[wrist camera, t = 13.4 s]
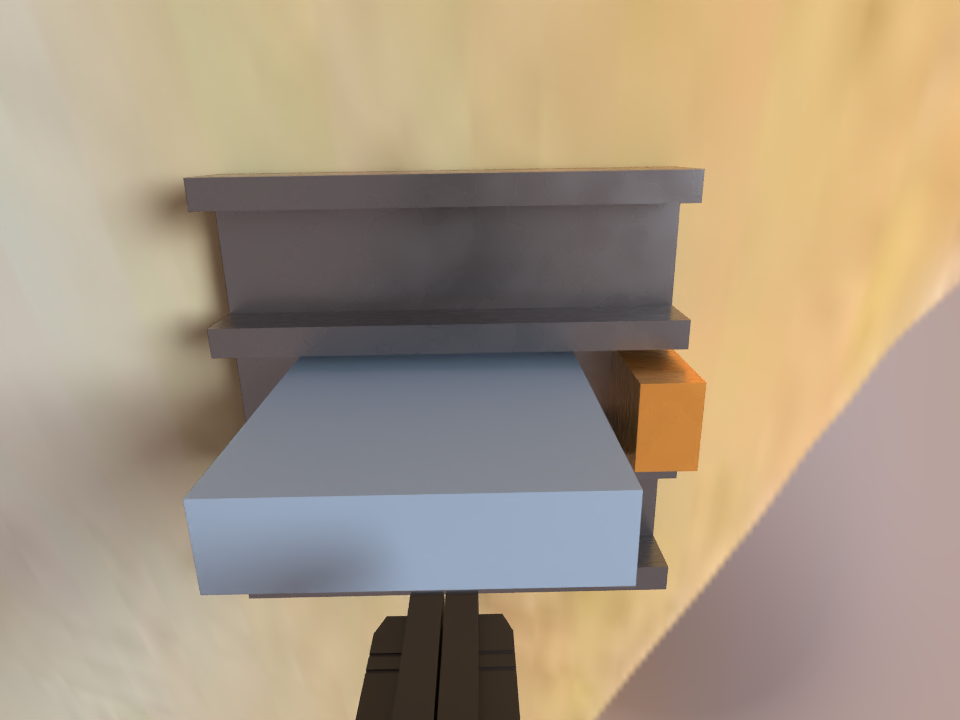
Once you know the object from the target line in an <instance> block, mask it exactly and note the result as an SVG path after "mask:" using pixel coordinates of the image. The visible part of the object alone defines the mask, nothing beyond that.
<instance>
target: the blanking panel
mask: <svg viewBox="0 0 960 720" xmlns="http://www.w3.org/2000/svg"><path fill="white" fill-rule="evenodd" d="M642 495H643V489H642V487H641V485H640V483H639V481H638V479H637V477H636V475H635V473H634V471H633V469H632V467H631V465H630V463H629V462H628V460H627V458H626V456H625V454H624V452H623V450H622V448H621V446H620V444H619V442H618V440H617V438H616V436H615V434H614V432H613V430H612V428H611V426H610V424H609V422H608V420H607V418H606V416H605V414H604V412H603V410H602V408H601V406H600V404H599V402H598V400H597V398H596V396H595V394H594V392H593V390H592V388H591V386H590V384H589V382H588V380H587V378H586V376H585V374H584V372H583V370H582V368H581V366H580V364H579V362H578V360H577V358H576V356H575V354H574V352H573V351H567V352H511V353H459V354H407V355H355V356H302V357H299V358H298V360H297V361H296V362H295V363H294V365H293V366H292V367H291V368H290V369H289V371H288V372H287V373H286V374H285V375H284V377H283V378H282V379H281V380H280V382H279V383H278V384H277V385H276V386H275V388H274V389H273V390H272V391H271V393H270V394H269V395H268V396H267V397H266V399H265V400H264V401H263V402H262V404H261V405H260V406H259V407H258V408H257V410H256V411H255V412H254V413H253V415H252V416H251V417H250V418H249V419H248V421H247V422H246V423H245V424H244V425H243V427H242V428H241V429H240V430H239V432H238V433H237V434H236V435H235V436H234V438H233V439H232V440H231V441H230V443H229V444H228V445H227V446H226V447H225V449H224V450H223V451H222V452H221V454H220V455H219V456H218V457H217V458H216V460H215V461H214V462H213V463H212V465H211V466H210V467H209V468H208V469H207V471H206V472H205V473H204V474H203V475H202V477H201V478H200V479H199V480H198V482H197V483H196V484H195V485H194V486H193V488H192V489H191V490H190V491H189V493H188V494H187V495H186V496H185V497H184V499H183V502H184V507H185V513H186V518H187V524H188V529H189V535H190V540H191V545H192V551H193V556H194V562H195V567H196V573H197V578H198V583H199V589H200V594H201V595H232V594H279V593H326V592H373V591H420V590H467V589H514V588H561V587H608V586H636V575H637V562H638V549H639V535H640V522H641V509H642Z"/></svg>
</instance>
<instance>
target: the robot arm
mask: <svg viewBox="0 0 960 720" xmlns="http://www.w3.org/2000/svg"><path fill="white" fill-rule="evenodd" d="M356 720H520V712H519V700H518V687H517V674H516V662H515V649H514V636H513V630H512V628H511V627H510V625H509V624H508V622H507V620H506V619H505V617H504V616H503V614H479V603H478V590H453V591H446V597H445V599H444V591H413V592H411V595H410V601H409V608H408V615H407V616H387V617H386V618H385V620H384V621H383V622H382V624H381V625H380V626H379V628H378V629H377V630H376V632H375V633H374V635H373V640H372V645H371V649H370V657H369V659H368V664H367V668H366V674H365V678H364V683H363V687H362V692H361V697H360V701H359V706H358V711H357V716H356Z"/></svg>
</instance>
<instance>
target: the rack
mask: <svg viewBox="0 0 960 720" xmlns="http://www.w3.org/2000/svg"><path fill="white" fill-rule="evenodd" d="M704 170H705V169H697V168H686V167H619V168H559V169H500V170H440V171H381V172H322V173H262V174H217V175H207V176H197V177H188V178H183V179H184V185H185V192H186V198H187V204H188V211H189V212H200V211H215V213H216V220H217V227H218V234H219V241H220V248H221V254H222V261H223V268H224V275H225V282H226V289H227V296H228V303H229V310H230V314H228V315H227V316H226V317H224V318H223V319H221V320H220V321H218V322H217V323H215V324H214V325H212V326H211V327H209V328H208V329H207V332H208V338H209V345H210V351H211V357H212V358H236V359H237V366H238V373H239V380H240V387H241V394H242V401H243V407H244V414H245V421H246V422H247V421H248V419H249V418H250V417H251V416H252V415H253V413H254V412H255V411H256V410H257V408H258V407H259V406H260V405H261V404H262V402H263V401H264V400H265V399H266V397H267V396H268V395H269V394H270V393H271V391H272V390H273V389H274V388H275V386H276V385H277V384H278V383H279V382H280V380H281V379H282V378H283V377H284V375H285V374H286V373H287V372H288V371H289V369H290V368H291V367H292V366H293V365H294V363H295V362H296V361H297V360H298V358H299V357H302V356H355V355H407V354H459V353H511V352H567V351H573V352H574V354H575V356H576V358H577V360H578V362H579V364H580V366H581V368H582V370H583V372H584V374H585V376H586V378H587V380H588V382H589V384H590V386H591V388H592V390H593V392H594V394H595V396H596V398H597V400H598V402H599V404H600V406H601V408H602V410H603V412H604V414H605V416H606V418H607V420H608V422H609V424H610V426H611V428H612V430H613V432H614V434H615V436H616V438H617V440H618V442H619V444H620V446H621V448H622V450H623V452H624V454H625V456H626V458H627V460H628V462H629V463H630V465H631V467H632V469H633V471H634V473H635V475H636V477H637V479H638V481H639V483H640V485H641V487H642V489H643V495H642V509H641V522H640V535H639V549H638V562H637V575H636V586H608V587H561V588H514V589H467V590H478V593H515V592H560V591H606V590H651V589H666V584H667V573H668V566H667V564H666V561H665V559H664V557H663V555H662V553H661V551H660V549H659V547H658V544H657V542H656V540H655V538H654V536H653V529H654V517H655V505H656V493H657V480H658V479H660V478H676V475H677V471H697V468H698V459H699V449H700V439H701V430H702V420H703V410H704V400H705V391H706V382H705V381H704V380H703V379H702V378H701V377H700V376H699V375H698V374H697V373H696V372H695V371H694V370H693V369H692V368H691V367H690V366H689V365H688V364H687V363H686V362H685V361H684V360H683V359H682V358H681V357H680V356H679V355H678V354H677V353H676V352H675V351H674V350H673V349H688V345H689V334H690V323H691V320H690V319H689V318H687V317H686V316H685V315H684V314H682V313H681V312H680V311H679V310H677V309H676V308H675V307H673V306H672V296H673V284H674V271H675V259H676V247H677V234H678V222H679V210H680V203H702V192H703V181H704ZM420 591H444V594H446V591H453V590H420ZM411 592H413V591H373V592H326V593H279V594H249V598H290V597H335V596H380V595H411Z"/></svg>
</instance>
